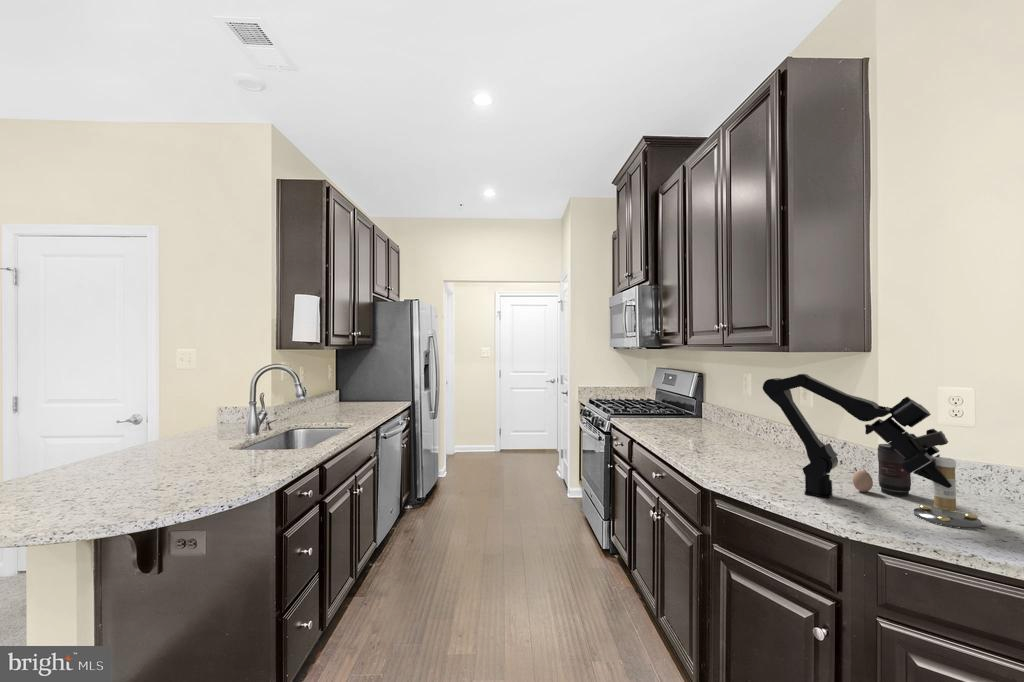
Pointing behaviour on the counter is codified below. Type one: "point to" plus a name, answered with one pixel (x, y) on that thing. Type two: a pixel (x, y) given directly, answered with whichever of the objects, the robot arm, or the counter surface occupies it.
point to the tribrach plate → (947, 517)
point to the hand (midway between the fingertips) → (951, 485)
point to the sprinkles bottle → (944, 495)
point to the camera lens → (892, 472)
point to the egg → (862, 481)
